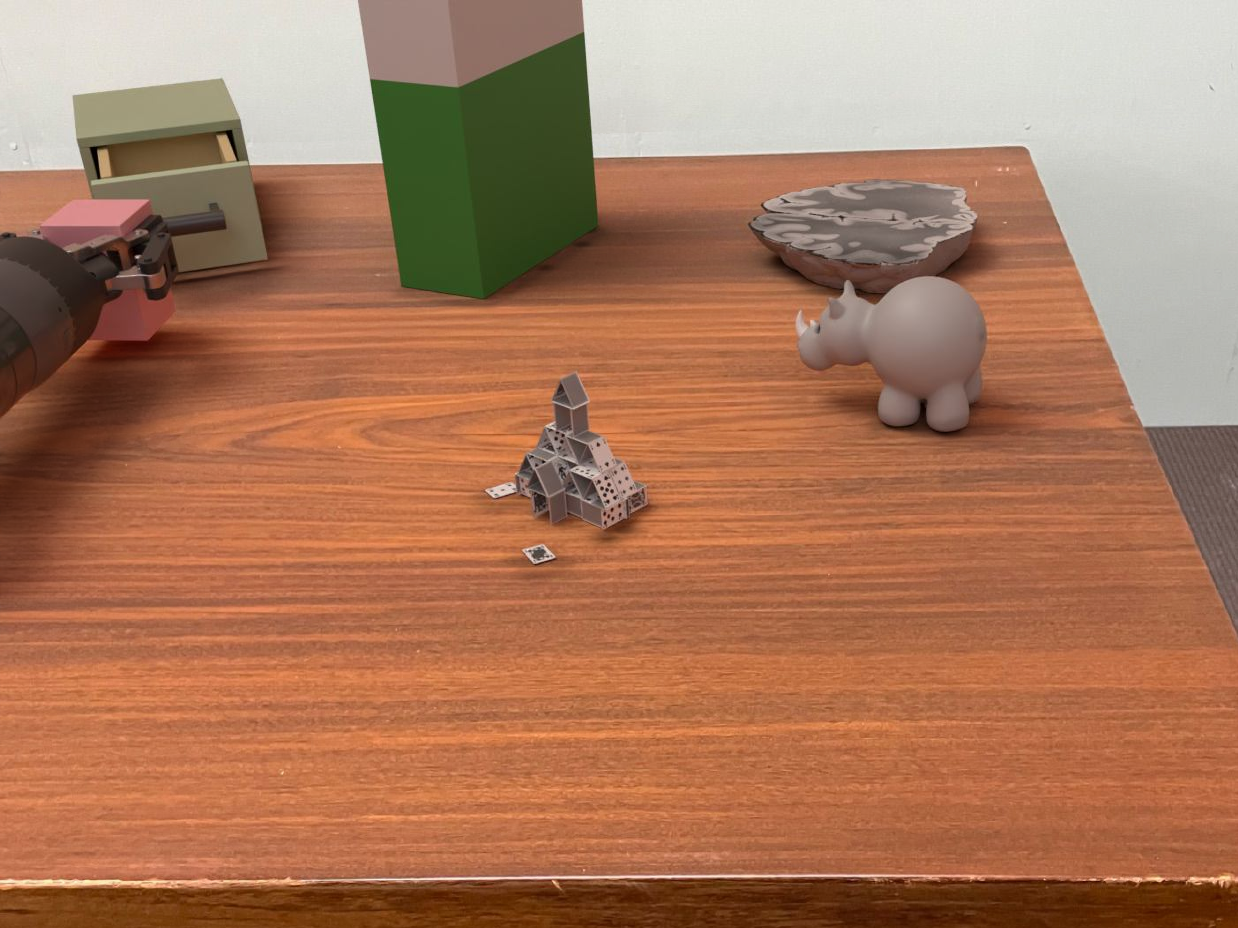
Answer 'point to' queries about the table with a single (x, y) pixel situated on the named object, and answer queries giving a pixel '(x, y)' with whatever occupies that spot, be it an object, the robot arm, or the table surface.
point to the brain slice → (868, 231)
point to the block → (90, 221)
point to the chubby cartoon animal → (906, 348)
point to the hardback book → (481, 135)
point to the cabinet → (154, 118)
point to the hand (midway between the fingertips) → (116, 229)
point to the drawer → (189, 195)
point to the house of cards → (574, 470)
